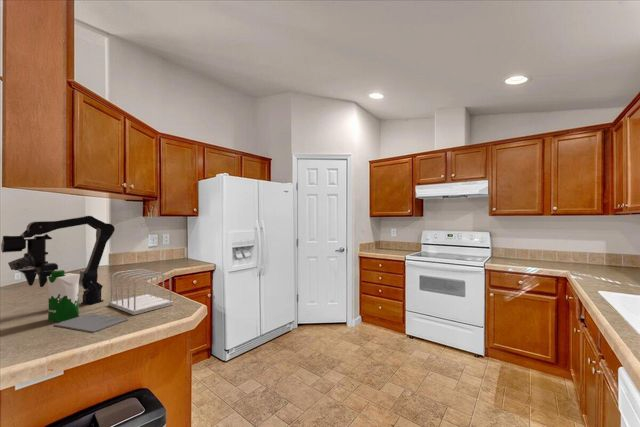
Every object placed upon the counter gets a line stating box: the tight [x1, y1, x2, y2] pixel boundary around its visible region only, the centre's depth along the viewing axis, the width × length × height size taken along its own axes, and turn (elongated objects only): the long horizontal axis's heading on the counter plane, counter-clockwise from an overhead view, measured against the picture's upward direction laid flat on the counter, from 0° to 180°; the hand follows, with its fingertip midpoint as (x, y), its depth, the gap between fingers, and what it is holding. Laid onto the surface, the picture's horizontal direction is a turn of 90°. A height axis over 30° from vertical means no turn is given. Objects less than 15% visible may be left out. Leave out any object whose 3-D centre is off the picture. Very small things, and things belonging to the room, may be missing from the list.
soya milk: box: [47, 269, 80, 323], centre depth 119 cm, size 9×9×20 cm
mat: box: [53, 313, 129, 334], centre depth 114 cm, size 13×22×1 cm, turn 72°
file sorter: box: [108, 268, 174, 315], centre depth 137 cm, size 25×17×16 cm
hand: (36, 286), depth 125 cm, fingers open, 7 cm apart
